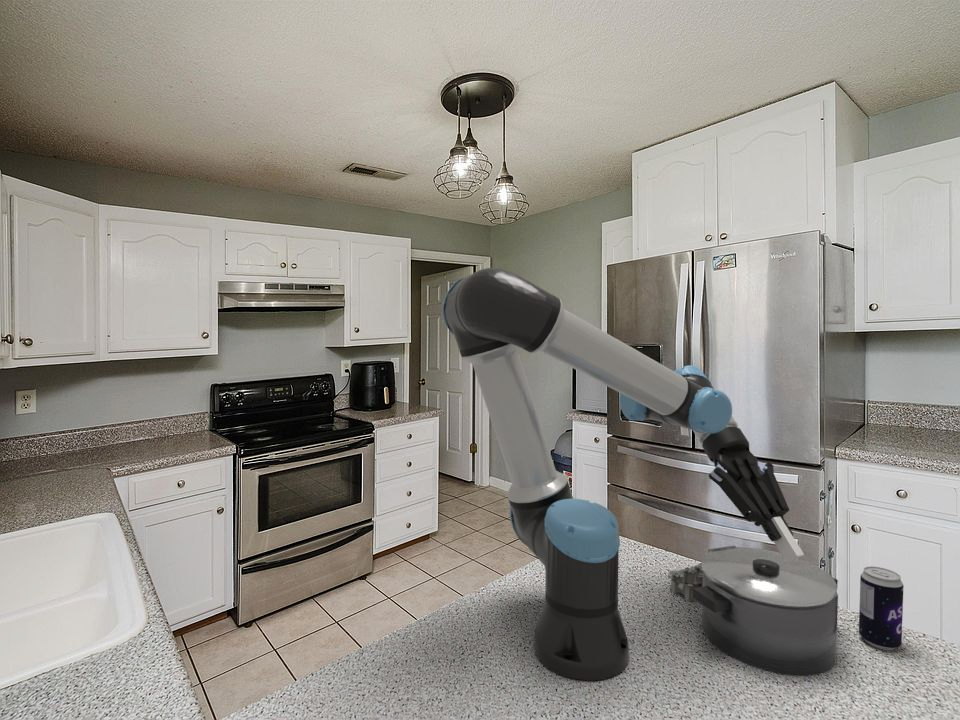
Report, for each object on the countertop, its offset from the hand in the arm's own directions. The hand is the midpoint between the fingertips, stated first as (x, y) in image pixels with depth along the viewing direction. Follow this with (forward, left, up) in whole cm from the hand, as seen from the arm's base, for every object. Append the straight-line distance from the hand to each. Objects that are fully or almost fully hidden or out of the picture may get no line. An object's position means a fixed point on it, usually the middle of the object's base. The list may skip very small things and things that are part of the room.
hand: (795, 558), depth 82 cm
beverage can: (+17, -2, -16) cm, 24 cm away
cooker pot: (0, +5, -16) cm, 17 cm away
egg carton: (+1, +23, -16) cm, 28 cm away
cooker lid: (0, +6, -6) cm, 8 cm away
